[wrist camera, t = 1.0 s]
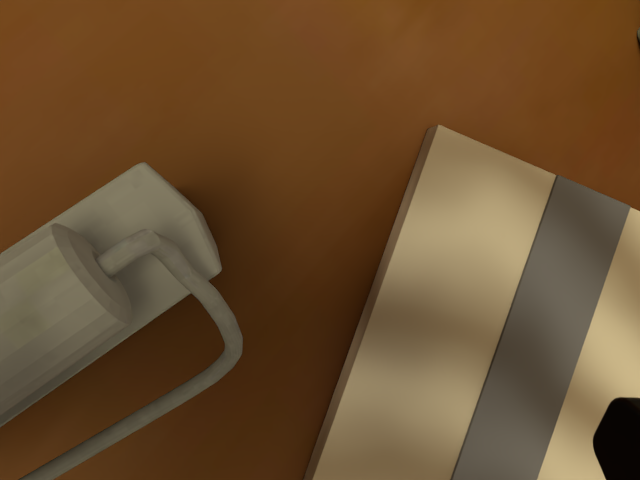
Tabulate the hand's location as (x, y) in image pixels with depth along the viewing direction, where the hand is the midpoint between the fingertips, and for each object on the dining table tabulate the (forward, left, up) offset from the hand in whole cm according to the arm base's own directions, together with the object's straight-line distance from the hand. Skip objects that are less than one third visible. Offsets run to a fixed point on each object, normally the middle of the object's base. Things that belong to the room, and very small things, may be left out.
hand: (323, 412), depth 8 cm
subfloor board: (0, -12, -16) cm, 20 cm away
